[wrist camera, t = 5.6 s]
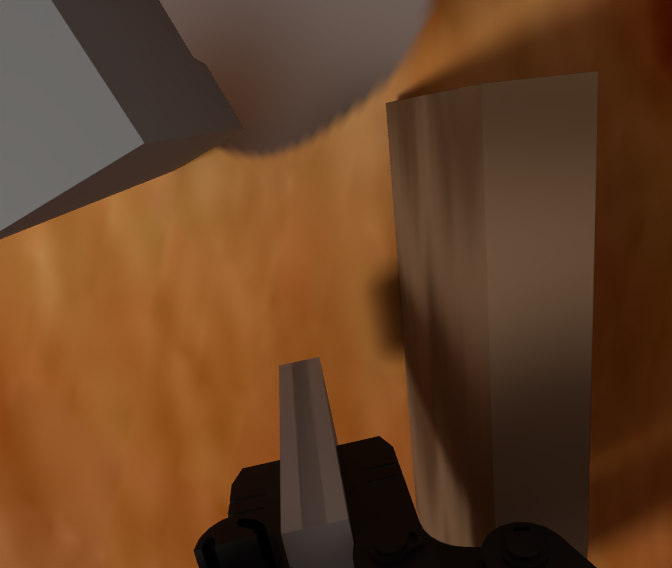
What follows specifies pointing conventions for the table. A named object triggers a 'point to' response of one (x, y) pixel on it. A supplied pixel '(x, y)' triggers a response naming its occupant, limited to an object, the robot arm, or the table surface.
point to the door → (498, 301)
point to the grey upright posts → (96, 104)
